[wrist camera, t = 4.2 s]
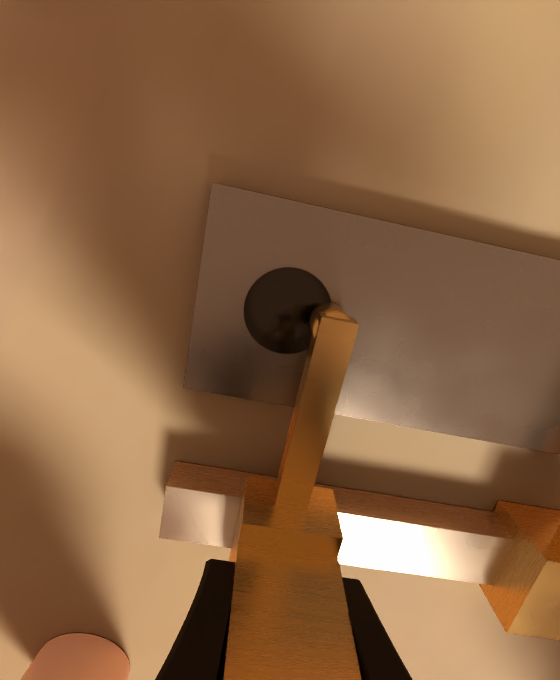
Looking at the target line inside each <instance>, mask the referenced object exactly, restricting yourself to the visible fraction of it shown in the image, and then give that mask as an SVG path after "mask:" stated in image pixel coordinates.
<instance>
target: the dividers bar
mask: <svg viewBox="0 0 560 680" xmlns="http://www.w3.org/2000/svg"><path fill="white" fill-rule="evenodd" d="M247 476H253V477H259V478H265V479H272V480H277V477H272V476H266V475H260V474H254V473H247V472H241V471H235V470H229V469H222V468H216V467H210V466H204V465H197V464H191V463H185V462H179V461H176V462H175V465H174V467H173V470H172V472H171V475H170V477H169V480H168V482H167V485H166V490H165V497H164V505H163V512H162V519H161V527H160V534H159V538H164V539H171V540H178V541H185V542H192V543H199V544H206V545H213V546H220V547H227V548H232V543H233V538H234V534H235V529H236V524H237V520H238V515H239V510H240V506H241V501H242V496H243V492H244V487H245V482H246V478H247ZM314 486H316V487H322V488H328V489H333V493H334V497H335V502H336V506H337V511H338V515H339V520H340V524H341V529H342V533H343V538H344V539H343V542H342V545H341V548H340V551H339V554H338V560H339V564H346V565H353V566H360V567H367V568H374V569H381V570H388V571H395V572H402V573H409V574H416V575H423V576H430V577H437V578H444V579H451V580H458V581H465V582H471V583H478V584H479V585H480V587H481V589H482V590H483V592H484V594H485V596H486V598H487V599H488V601H489V603H490V605H491V606H492V608H493V610H494V612H495V613H496V615H497V617H498V619H499V621H500V622H501V624H502V626H503V628H504V629H505V631H506V633H509V634H517V635H524V636H532V637H540V638H547V639H555V640H560V511H559V510H553V509H547V508H541V507H535V506H528V505H522V504H516V503H510V502H504V501H498V503H497V505H496V507H495V509H494V511H493V512H490V511H484V510H478V509H472V508H465V507H459V506H453V505H447V504H441V503H434V502H428V501H422V500H416V499H409V498H403V497H397V496H391V495H384V494H378V493H372V492H366V491H359V490H353V489H347V488H341V487H335V486H328V485H322V484H316V483H314Z"/></svg>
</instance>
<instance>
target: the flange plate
mask: <svg viewBox="0 0 560 680" xmlns="http://www.w3.org/2000/svg"><path fill="white" fill-rule="evenodd" d="M324 303H333V304H336V305H338V306H339V307H341V308H342V310H343V311H344V312H345V313H346V315H347V316H350V317H354V319H355V320H356V321H357V322H358V323H359V328H358V332H357V335H356V339H355V342H354V346H353V349H352V353H351V356H350V360H349V364H348V367H347V371H346V374H345V378H344V381H343V385H342V388H341V392H340V395H339V399H338V402H337V406H336V409H335V413H334V414H336V415H342V416H347V417H353V418H359V419H364V420H370V421H376V422H381V423H387V424H393V425H398V426H404V427H409V428H415V429H421V430H426V431H432V432H438V433H443V434H449V435H455V436H460V437H466V438H472V439H477V440H483V441H489V442H494V443H500V444H506V445H511V446H517V447H523V448H528V449H534V450H540V451H545V452H551V453H556V454H560V260H557V259H553V258H548V257H544V256H539V255H535V254H530V253H526V252H521V251H517V250H512V249H508V248H503V247H499V246H494V245H490V244H485V243H481V242H476V241H472V240H467V239H463V238H458V237H454V236H450V235H445V234H441V233H436V232H432V231H427V230H423V229H418V228H414V227H409V226H405V225H400V224H396V223H391V222H387V221H382V220H378V219H373V218H369V217H364V216H360V215H355V214H351V213H346V212H342V211H338V210H333V209H329V208H324V207H320V206H315V205H311V204H306V203H302V202H297V201H293V200H288V199H284V198H279V197H275V196H270V195H266V194H261V193H257V192H252V191H248V190H243V189H239V188H234V187H230V186H226V185H221V184H217V183H212V185H211V192H210V199H209V206H208V213H207V221H206V228H205V235H204V242H203V249H202V256H201V264H200V271H199V278H198V285H197V292H196V299H195V306H194V314H193V321H192V328H191V335H190V342H189V349H188V357H187V364H186V371H185V378H184V385H183V388H189V389H195V390H200V391H206V392H212V393H217V394H223V395H229V396H234V397H240V398H245V399H251V400H257V401H262V402H268V403H274V404H279V405H285V406H291V407H295V403H296V399H297V395H298V390H299V386H300V382H301V378H302V374H303V370H304V366H305V362H306V358H307V354H308V350H309V346H310V341H311V337H312V331H311V328H310V325H309V318H310V315H311V313H312V311H313V310H314V309H315V308H316V307H317V306H319V305H321V304H324Z"/></svg>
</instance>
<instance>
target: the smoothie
mask: <svg viewBox="0 0 560 680" xmlns="http://www.w3.org/2000/svg"><path fill="white" fill-rule="evenodd" d="M129 672H130V664H129V660H128V658H127V656H126V654H125V653H124V652H123V651H122V650H121V649H120V648H119V647H118V646H117V645H116V644H114V643H113V642H111V641H109V640H107V639H105V638H102V637H99V636H96V635H91V634H84V633H72V634H65V635H61V636H58V637H56V638H53V639H51V640H50V641H48V642H47V643H46V644H45V645H44V646H43V647H42V648H41V650H40V651H39V653H38V654H37V656H36V657H35V659H34V660H33V662H32V663H31V665H30V666H29V668H28V669H27V671H26V672H25V674H24V675H23V677H22V678H21V680H128V677H129Z"/></svg>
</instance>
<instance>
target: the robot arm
mask: <svg viewBox="0 0 560 680" xmlns="http://www.w3.org/2000/svg"><path fill="white" fill-rule="evenodd" d="M234 569H235V562H230V561H223V560H215V559H210V560H208V561H207V562H206V564H205V568H204V572H203V576H202V579H201V582H200V585H199V587H198V590H197V593H196V595H195V598H194V600H193V603H192V605H191V607H190V610H189V612H188V615H187V617H186V619H185V621H184V623H183V625H182V627H181V630H180V632H179V634H178V636H177V638H176V640H175V642H174V644H173V646H172V648H171V651H170V653H169V655H168V657H167V658H166V660H165V662H164V664H163V666H162V668H161V670H160V672H159V673H158V675H157V677H156V679H155V680H216V677H217V672H218V667H219V662H220V656H221V651H222V646H223V641H224V636H225V631H226V626H227V621H228V615H229V610H230V605H231V600H232V595H233V583H234ZM342 581H343V586H344V591H345V596H346V602H347V607H348V615H349V619H350V622H351V627H352V633H353V638H354V643H355V648H356V653H357V658H358V664H359V669H360V674H361V679H362V680H412V678H411V676H410V674H409V673H408V671H407V669H406V667H405V666H404V664H403V662H402V660H401V658H400V657H399V655H398V653H397V651H396V649H395V647H394V646H393V644H392V642H391V640H390V638H389V636H388V634H387V632H386V631H385V629H384V627H383V625H382V623H381V621H380V619H379V617H378V615H377V613H376V611H375V609H374V607H373V605H372V603H371V602H370V600H369V598H368V596H367V594H366V592H365V590H364V588H363V586H362V584H361V582H360V581H359V580H357V579H350V578H343V577H342Z"/></svg>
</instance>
